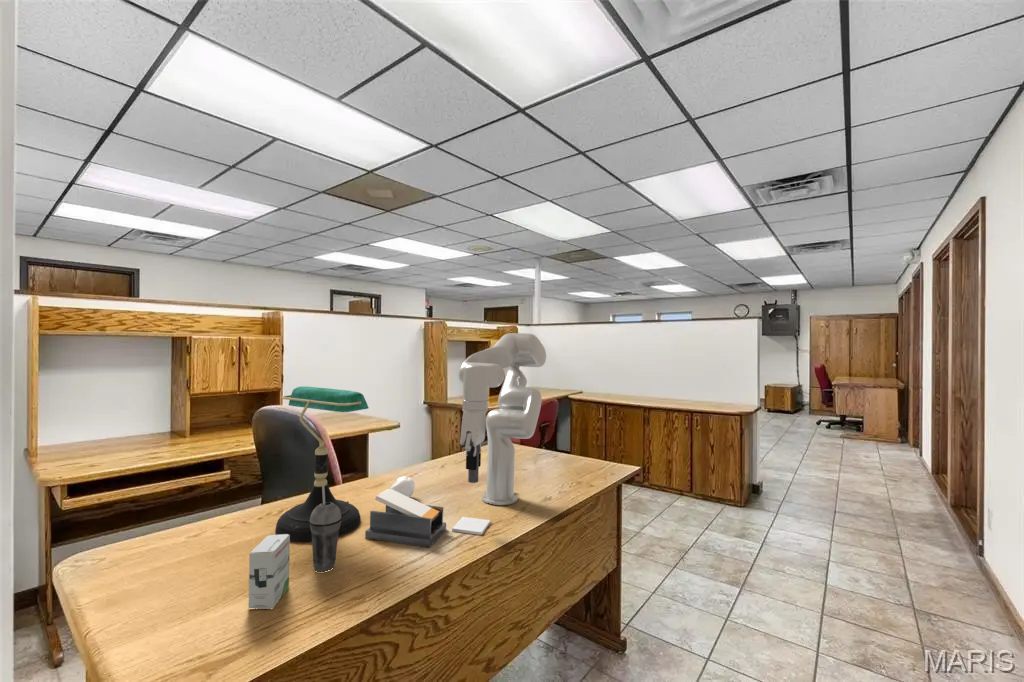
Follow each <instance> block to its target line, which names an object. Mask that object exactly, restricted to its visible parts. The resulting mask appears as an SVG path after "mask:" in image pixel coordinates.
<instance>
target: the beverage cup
mask: <svg viewBox="0 0 1024 682" xmlns="http://www.w3.org/2000/svg"><path fill="white" fill-rule="evenodd" d="M322 495H323V503H321V504H319V505H318V506H317V507H316V508H315V509H314V510H313V512H312V514H311V516H310V521H309V524H310V529H311V532H312V542H311V545H312V546H311V548H312V549H311V550H312V561H313V571H314V570H315V571H317V572H325V571H328V570H331V569H332V568H335V563H336V558H337V551H338V544H339V543H338V541H339V536H338V534H339V528H340V524H341V520H342V517H341V512H340V509H339V507H338V506H337V505H335V504H334V503H331V502H325V489H324V486H322ZM332 570H333V569H332ZM332 570H331V571H332ZM315 571H314V572H315ZM317 572H316V573H317ZM325 573H326V572H325Z"/></svg>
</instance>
